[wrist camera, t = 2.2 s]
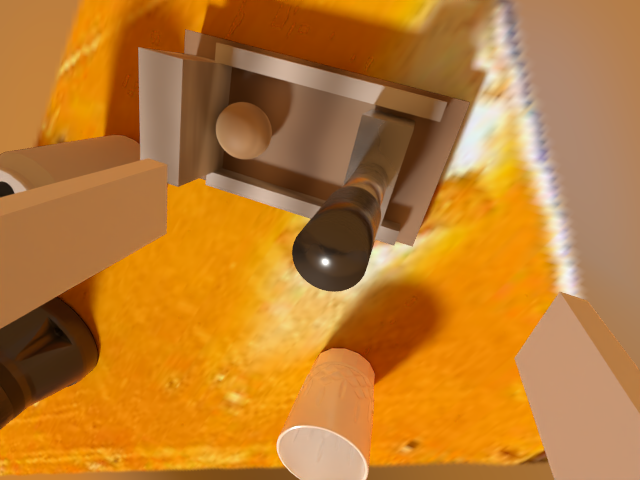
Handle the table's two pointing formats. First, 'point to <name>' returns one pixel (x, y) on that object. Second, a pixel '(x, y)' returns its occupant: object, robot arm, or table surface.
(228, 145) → the tan ball
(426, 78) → the table surface
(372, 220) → the ram
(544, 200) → the table surface
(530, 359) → the robot arm
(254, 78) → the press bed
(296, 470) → the white cup
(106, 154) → the can
